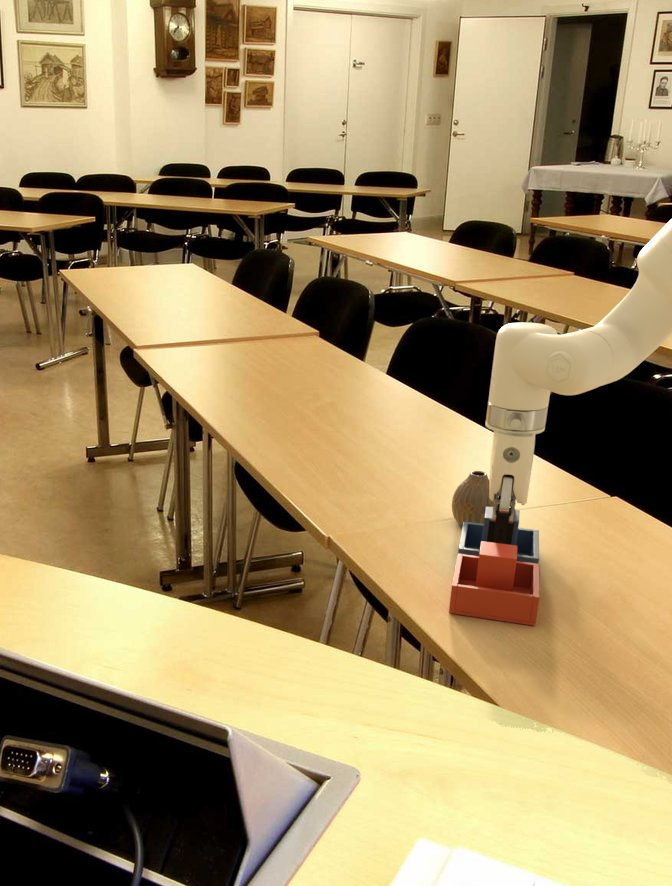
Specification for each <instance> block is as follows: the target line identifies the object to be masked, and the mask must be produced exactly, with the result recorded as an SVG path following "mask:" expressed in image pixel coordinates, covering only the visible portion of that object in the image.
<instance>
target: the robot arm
mask: <svg viewBox="0 0 672 886" xmlns="http://www.w3.org/2000/svg"><path fill="white" fill-rule="evenodd" d="M636 265H637V268H638V274H637V275H638V276H637V279H636V281H635V283H634V284H633V286H632V287H631V289H630V290H629V291H628V292H627V293H626V295H625V296H624V297H623V298H622V300H621V301H620V302H619V303H618V304H616V305H615V307H614V308H612V309H611V311H610V312H609V313H607V315H606V316H604V318H602V320H600V321H599V322H598V323H597V324H596V325H594V326H592V327H588V328H584V329H581V330H580V329H579V330H577V331H574V332H569V333H563V334H558V332H557V330H556V329H555V328H554V327H553V326H551V325H548V324H544V323H538V322H523V321H522V322H511V323H506V324H504V325H503V326H501V328H500V329H498V332H497V334H496V339H495V345H494V351H493V360H492V367H491V368H492V369H491V377H490V383H489V384H490V385H489V391H488V392H489V393H488V394H489V395H488V401H487V407H486V408H487V409H486V417H485V418H486V419H485V425H484V426H485V427H486V428H487V429H489V430H490V431H493V437H492V444H491V454H490V464H489V481H490V484H489V499H490V500H491V501H492V502H493V501H494V503H493V506H491V507H493V513H492V519H490V521H489V528H488V536H487V542H492V543H500V544H509V545H511V542H512V535H513V529H514V522H513V516H514V510H516V503H517V504H521V506H525V505H526V504H527V503H528V497H529V489H530V483H531V476H532V470H533V469H532V468H533V462H534V457H535V456H534V455H535V446H536V435H538V434H542V433H543V432H545V430H546V423H547V416H548V409H549V403H550V396H551V392H552V393H555V394H558V395H562V396H576V395H581V394H584V393H586V392H590V391H592V390H595V389H597V388H599V387H602V386H605V385H608V384H612V383H614V382H617V381H619V380H621V379H623V378H625V376H628V375H629V374H630V373H631V372H632V371H633V370H634V369H636V368H637V367H638V366H639V365H640V364H641V363H642V362H644V361H645V360H646V359H647V358H648V357H650V356H651V354H652V353H654V352H655V351H657V349H658V348H659V347H660V346H662V345H663V344H664V343H665V342H666V341H667V340H668V339H669V338H671V336H672V218H671V219H670V220H669V221H668V222H667V223H666V224H665V225H664V226H663V227H662V228H661V229H660V230H659V231H658V232H657V233H656V234H654V236H653V237H652V238H651V239H650V240H649V242H647V243H646V244H645V245H644V247H642V249H641V250H640V251H639V253H638V255H637V258H636ZM497 508H498V509H497Z"/></svg>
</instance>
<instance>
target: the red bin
mask: <svg viewBox="0 0 672 886" xmlns="http://www.w3.org/2000/svg"><path fill="white" fill-rule="evenodd" d="M478 561H479V556H474V555H466V554H458V553H457V556H456V560H455V566H454V572H453V577H452V583H451V589H450V599H449V606H448V607H449V608H448V613H449V614H455V615H461V616H467V617H474V618H480V619H487V620H493V621H500V622H505V623H506V622H508V623H512V624H513V623H514V624H521V625H527V626H533V627H534V626H536V622H537V621H536V620H537V615H538V610H539V602H540V563H538V564H536V563H534V564H533V563H528V562H521V561H517V562H516V569H515V576H514V582H513V589H512V592H511V591H504V590H497V589H489V588H482V587H475V585H476V577H477V569H478Z"/></svg>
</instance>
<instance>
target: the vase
mask: <svg viewBox="0 0 672 886" xmlns="http://www.w3.org/2000/svg"><path fill="white" fill-rule="evenodd" d="M489 484H490V478H489V476H488V474H487V472H485V471H481V470H472V471H471V472H469V475H468V476H467V477H466V478H465V479H464V480H463V481H462V482H461V483H460V484H458V486H457V487H456V489H455V491H454V493H453V496H452V499H451V511H452V516H453V518H454V520H455V522H456V523H457V524H458V525H459V526H460V527H462V528H463V522H473V523H481V524H484V518H485V511H486V507H491V506H493V503H494V501H493V502H492V501H491V500H490V499H489Z"/></svg>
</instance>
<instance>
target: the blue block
mask: <svg viewBox="0 0 672 886" xmlns="http://www.w3.org/2000/svg"><path fill="white" fill-rule="evenodd" d="M497 509H498V508H497ZM492 513H493V507H486V511H485V518H484V526H483V534H482V541H484V542H487V536H488V528H489V521H490V519H492ZM513 522H514V529H513V535H512V542H511V545H516V540H517V533H518V528H519V527H520V509H515V510H514V516H513Z"/></svg>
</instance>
